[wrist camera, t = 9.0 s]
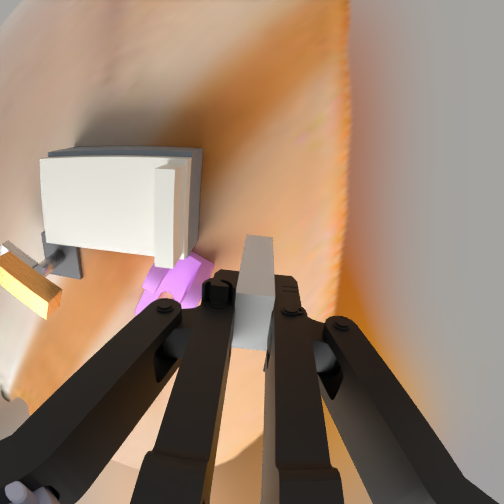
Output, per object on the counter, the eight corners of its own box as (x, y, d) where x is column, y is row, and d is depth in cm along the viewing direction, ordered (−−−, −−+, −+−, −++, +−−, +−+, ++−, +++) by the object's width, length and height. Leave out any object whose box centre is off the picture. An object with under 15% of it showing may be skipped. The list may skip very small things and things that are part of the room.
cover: (53, 238, 28) (30, 253, 24) (47, 157, 25) (20, 163, 21) (187, 253, 28) (175, 274, 24) (191, 157, 25) (178, 163, 21)
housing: (50, 271, 36) (30, 288, 31) (38, 149, 29) (13, 155, 25) (196, 294, 36) (187, 318, 31) (203, 148, 29) (192, 151, 25)
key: (83, 280, 35) (46, 319, 27) (25, 241, 34) (-17, 269, 25) (87, 265, 34) (48, 303, 26) (28, 225, 33) (-17, 252, 24)
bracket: (172, 238, 34) (152, 265, 27) (214, 263, 35) (203, 295, 28) (133, 316, 38) (113, 348, 32) (168, 336, 39) (154, 371, 33)
